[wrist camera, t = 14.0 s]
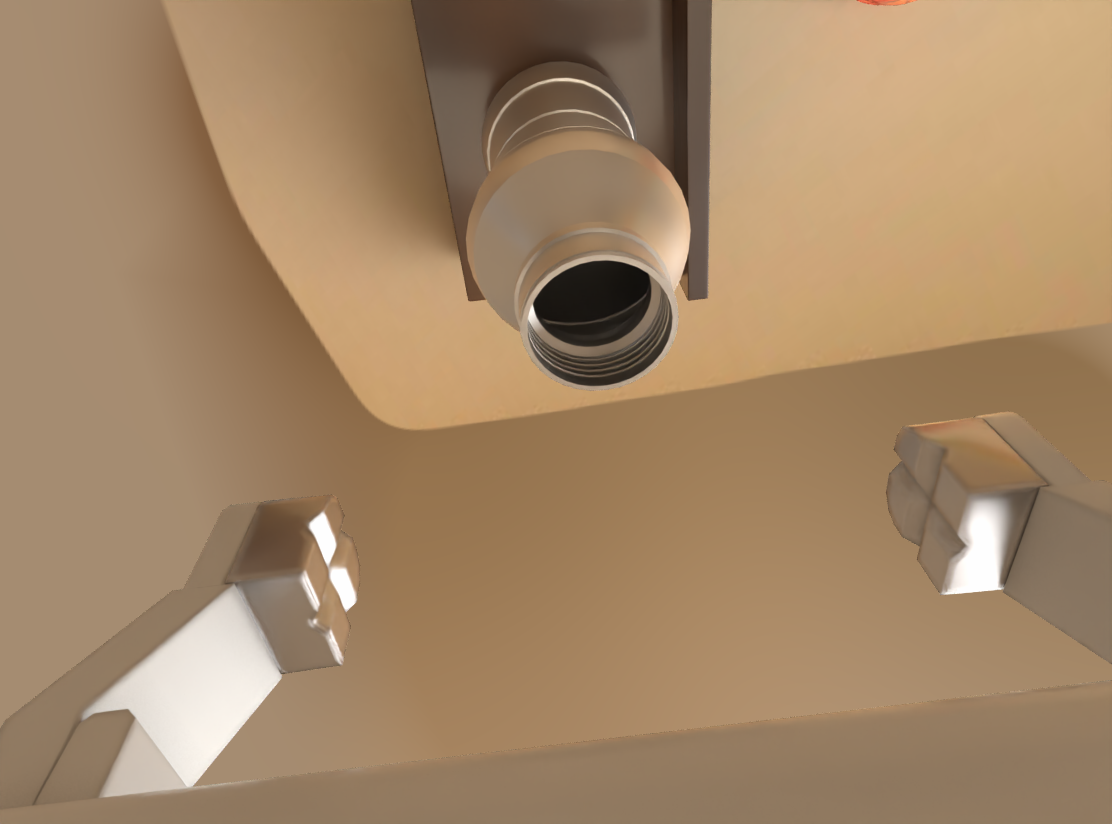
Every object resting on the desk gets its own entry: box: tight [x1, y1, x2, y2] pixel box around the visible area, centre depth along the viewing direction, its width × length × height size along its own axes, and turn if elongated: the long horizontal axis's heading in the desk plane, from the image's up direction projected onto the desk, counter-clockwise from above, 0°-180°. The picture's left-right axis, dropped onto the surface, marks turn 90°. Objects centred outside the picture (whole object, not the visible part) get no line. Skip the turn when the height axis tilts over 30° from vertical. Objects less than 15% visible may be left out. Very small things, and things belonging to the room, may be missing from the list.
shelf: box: [411, 0, 712, 301], centre depth 34 cm, size 12×16×9 cm
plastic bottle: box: [466, 61, 691, 391], centre depth 25 cm, size 6×7×20 cm
